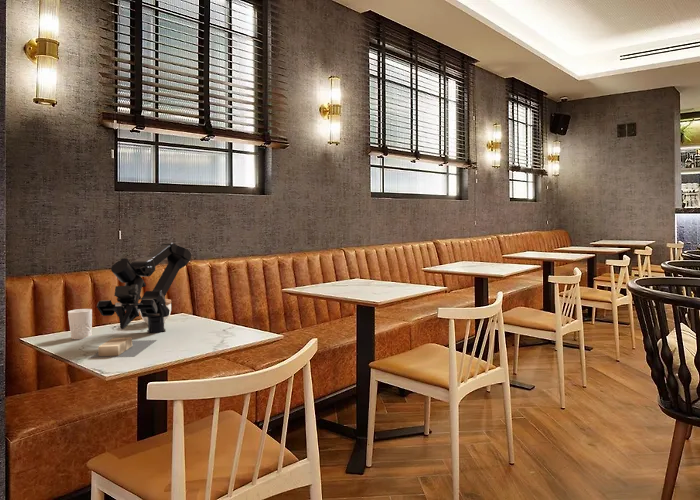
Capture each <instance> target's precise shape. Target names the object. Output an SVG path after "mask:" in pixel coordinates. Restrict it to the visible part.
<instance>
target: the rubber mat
mask: <svg viewBox="0 0 700 500" xmlns="http://www.w3.org/2000/svg"><path fill="white" fill-rule="evenodd" d="M156 341H158V340H157V339H152V340H151V339H148V340H147V339H146V340H145V339H144V340H132V347H130V348H129V349H127V350H126V351H124V352H123V353H121V354H120V355H118V356H99V352H95V354H93V355H91V356H90V357H89V359H105V358H107V359H109V358H110V359H111V358H134V357H136V356H138V355H139V354H140V353H142V352H143V351H144V350H146V349H147V348H148V347H150V346H151V345H153V344H155V342H156Z"/></svg>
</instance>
